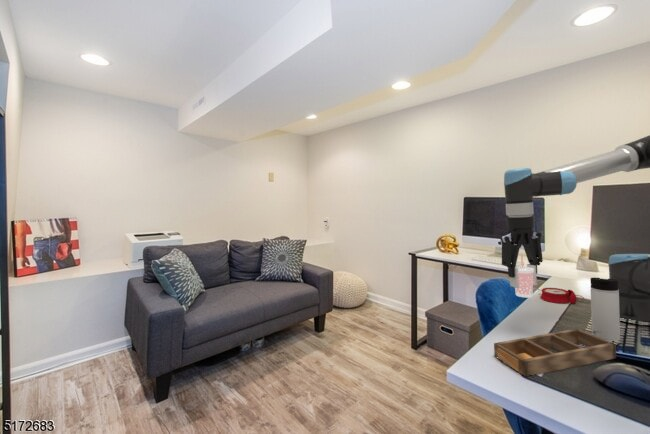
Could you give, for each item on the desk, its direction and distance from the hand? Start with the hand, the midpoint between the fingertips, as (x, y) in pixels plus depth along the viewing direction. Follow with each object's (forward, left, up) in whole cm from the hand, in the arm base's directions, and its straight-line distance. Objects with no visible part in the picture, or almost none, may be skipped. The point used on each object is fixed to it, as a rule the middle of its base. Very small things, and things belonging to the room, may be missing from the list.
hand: (523, 285), depth 96 cm
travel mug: (-21, +4, -17) cm, 27 cm away
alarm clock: (-30, -34, -17) cm, 48 cm away
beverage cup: (0, 0, -4) cm, 4 cm away
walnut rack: (-1, +14, -17) cm, 22 cm away
